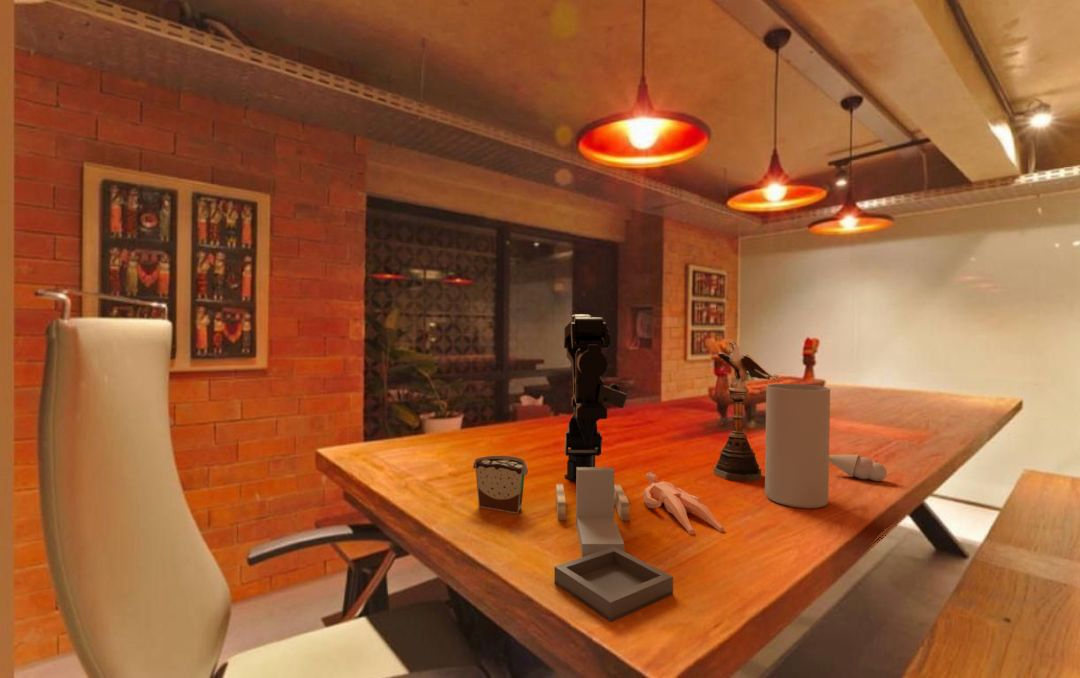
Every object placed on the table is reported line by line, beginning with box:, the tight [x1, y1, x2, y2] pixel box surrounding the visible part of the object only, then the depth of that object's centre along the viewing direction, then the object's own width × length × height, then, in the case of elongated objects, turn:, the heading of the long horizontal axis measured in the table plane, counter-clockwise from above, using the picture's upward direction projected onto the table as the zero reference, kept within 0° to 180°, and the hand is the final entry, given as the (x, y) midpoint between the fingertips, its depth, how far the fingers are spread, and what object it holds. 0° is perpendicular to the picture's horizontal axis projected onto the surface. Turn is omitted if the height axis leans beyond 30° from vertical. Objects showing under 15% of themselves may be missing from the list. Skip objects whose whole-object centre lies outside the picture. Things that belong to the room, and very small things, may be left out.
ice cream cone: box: [829, 453, 888, 482], centre depth 129 cm, size 6×6×15 cm
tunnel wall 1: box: [555, 483, 567, 521], centre depth 105 cm, size 12×2×4 cm, turn 0°
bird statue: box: [713, 341, 780, 483], centre depth 132 cm, size 17×13×35 cm
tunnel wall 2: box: [614, 483, 630, 522], centre depth 105 cm, size 12×2×4 cm, turn 0°
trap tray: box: [554, 547, 674, 622], centre depth 73 cm, size 12×12×2 cm
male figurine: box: [642, 471, 725, 535], centre depth 105 cm, size 11×5×25 cm
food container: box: [472, 455, 529, 515], centre depth 107 cm, size 12×6×10 cm, turn 65°
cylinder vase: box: [764, 383, 831, 509], centre depth 112 cm, size 12×12×25 cm
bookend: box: [575, 466, 625, 557], centre depth 91 cm, size 14×7×11 cm, turn 0°
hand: (587, 444), depth 112 cm, fingers closed
